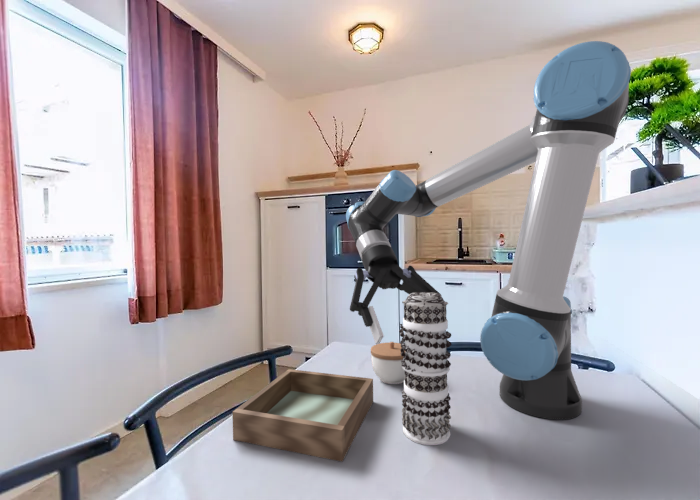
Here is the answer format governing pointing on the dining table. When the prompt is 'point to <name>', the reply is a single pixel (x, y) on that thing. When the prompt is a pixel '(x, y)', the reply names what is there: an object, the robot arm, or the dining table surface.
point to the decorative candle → (425, 369)
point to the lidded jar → (388, 362)
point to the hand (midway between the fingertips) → (412, 336)
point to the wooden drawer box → (306, 413)
